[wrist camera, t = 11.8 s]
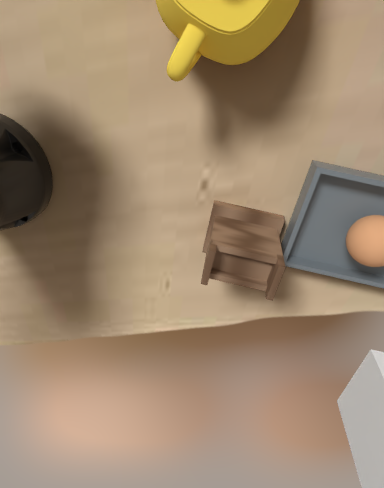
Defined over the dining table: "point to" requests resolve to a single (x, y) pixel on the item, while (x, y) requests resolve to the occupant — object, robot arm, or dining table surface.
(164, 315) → the dining table surface
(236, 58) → the teapot
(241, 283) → the stand
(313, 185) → the tray
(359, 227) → the ball
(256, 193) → the dining table surface
